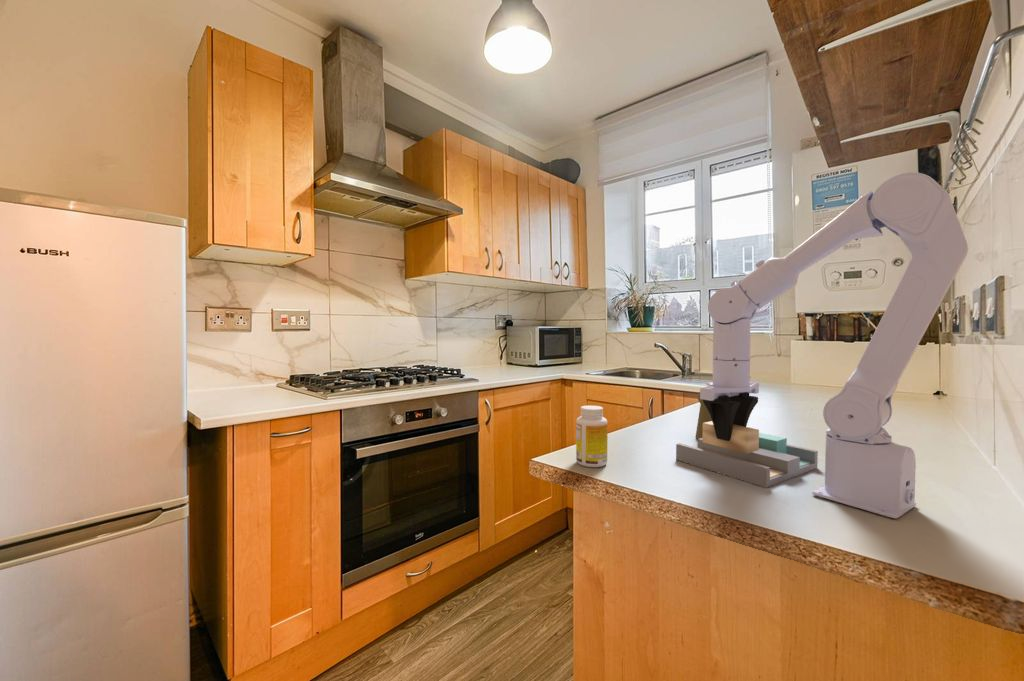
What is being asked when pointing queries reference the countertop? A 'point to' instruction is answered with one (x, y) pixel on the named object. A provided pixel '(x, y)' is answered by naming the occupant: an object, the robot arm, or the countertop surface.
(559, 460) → the countertop surface
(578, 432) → the supplement bottle
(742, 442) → the oak stick
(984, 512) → the countertop surface
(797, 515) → the countertop surface
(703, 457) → the rack
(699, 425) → the cork
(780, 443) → the teal stick
